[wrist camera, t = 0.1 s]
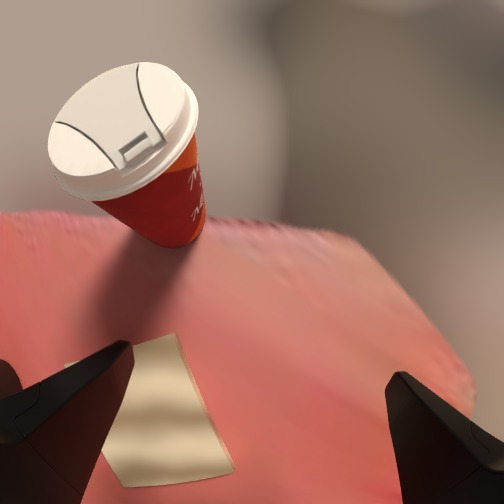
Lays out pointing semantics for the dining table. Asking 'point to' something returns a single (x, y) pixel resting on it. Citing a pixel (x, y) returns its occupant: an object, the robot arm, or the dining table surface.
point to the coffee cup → (134, 151)
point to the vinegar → (8, 380)
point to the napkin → (164, 423)
